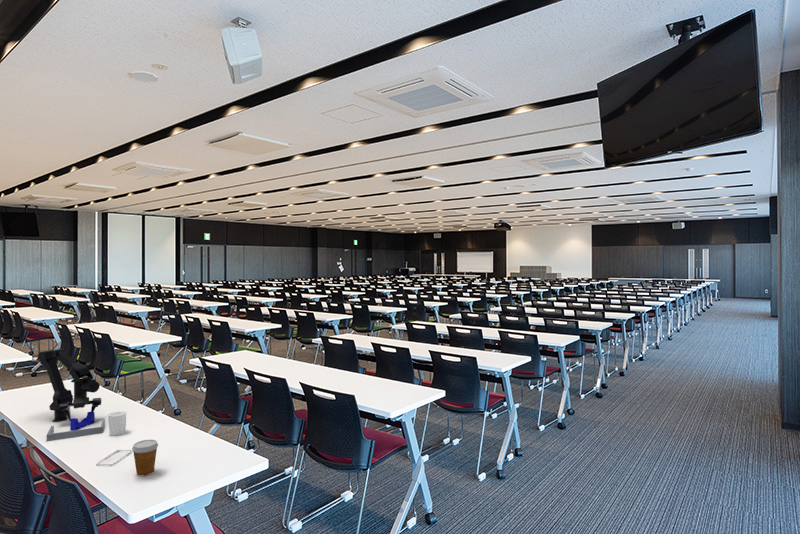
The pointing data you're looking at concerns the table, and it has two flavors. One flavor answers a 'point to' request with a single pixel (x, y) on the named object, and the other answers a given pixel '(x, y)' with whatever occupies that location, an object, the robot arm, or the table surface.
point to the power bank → (112, 454)
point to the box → (74, 432)
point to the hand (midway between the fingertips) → (80, 419)
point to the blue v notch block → (85, 422)
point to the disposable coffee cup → (145, 456)
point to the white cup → (117, 422)
